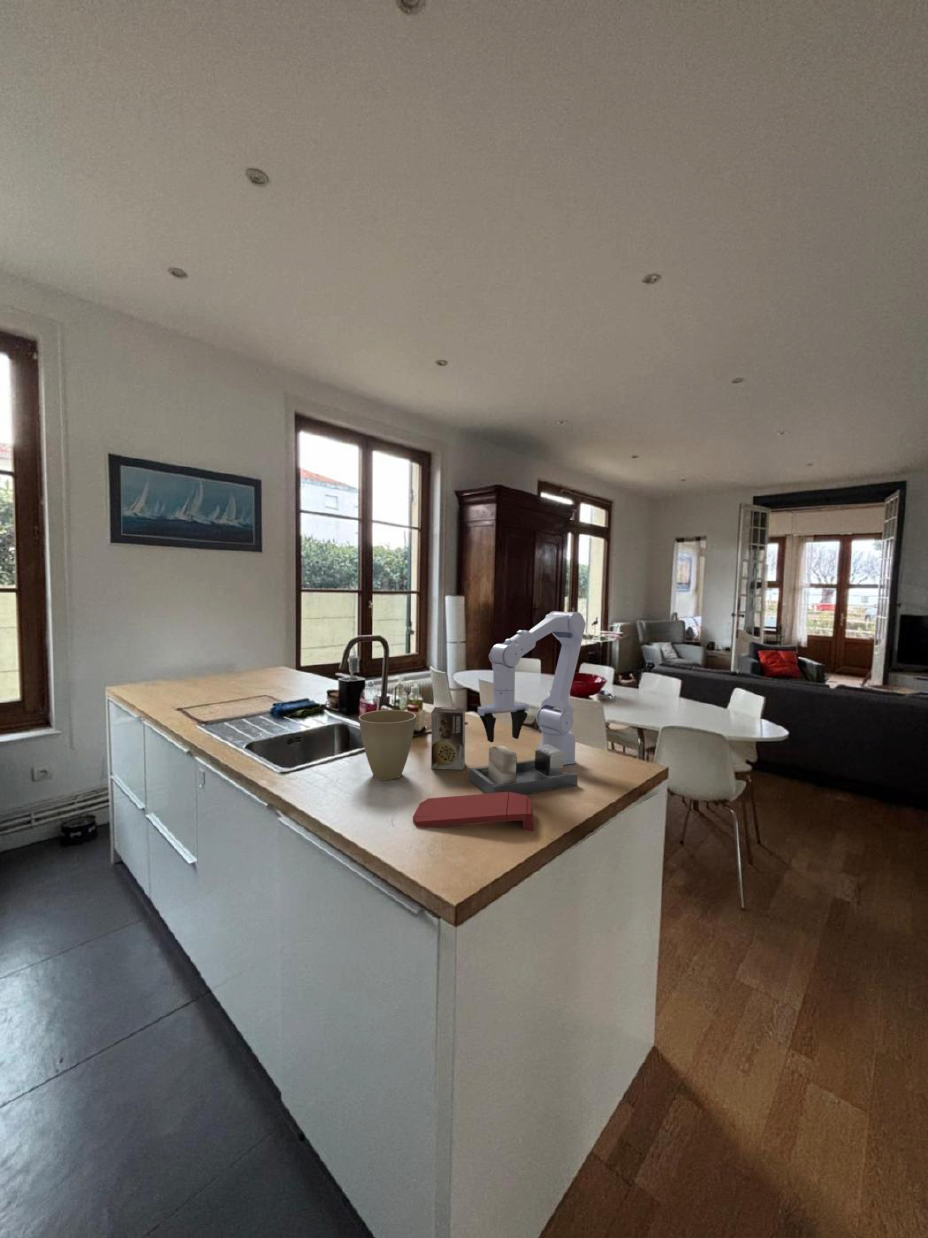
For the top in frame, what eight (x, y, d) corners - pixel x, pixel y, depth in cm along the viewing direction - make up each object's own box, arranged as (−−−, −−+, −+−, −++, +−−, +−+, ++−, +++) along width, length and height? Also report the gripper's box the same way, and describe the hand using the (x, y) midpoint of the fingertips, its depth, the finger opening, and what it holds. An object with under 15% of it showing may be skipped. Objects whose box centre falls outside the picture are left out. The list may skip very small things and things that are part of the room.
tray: (546, 768, 141) (547, 740, 141) (577, 785, 128) (578, 754, 128) (469, 779, 131) (469, 749, 131) (494, 799, 118) (494, 766, 118)
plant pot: (404, 763, 143) (405, 707, 143) (423, 780, 130) (424, 719, 129) (352, 770, 137) (352, 712, 136) (366, 789, 123) (366, 725, 123)
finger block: (504, 775, 132) (504, 745, 131) (517, 784, 125) (518, 753, 125) (488, 778, 130) (489, 747, 130) (501, 787, 124) (502, 755, 123)
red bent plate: (413, 845, 104) (533, 836, 101) (410, 822, 104) (530, 812, 101) (425, 819, 116) (533, 811, 113) (422, 798, 116) (530, 789, 113)
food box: (465, 763, 144) (466, 707, 144) (463, 770, 138) (464, 712, 137) (433, 761, 145) (434, 706, 145) (430, 769, 139) (431, 711, 138)
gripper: (519, 684, 140) (518, 732, 141) (472, 688, 134) (472, 738, 135) (533, 689, 134) (532, 739, 134) (485, 693, 128) (484, 745, 128)
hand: (503, 739), depth 134 cm, fingers open, 7 cm apart
